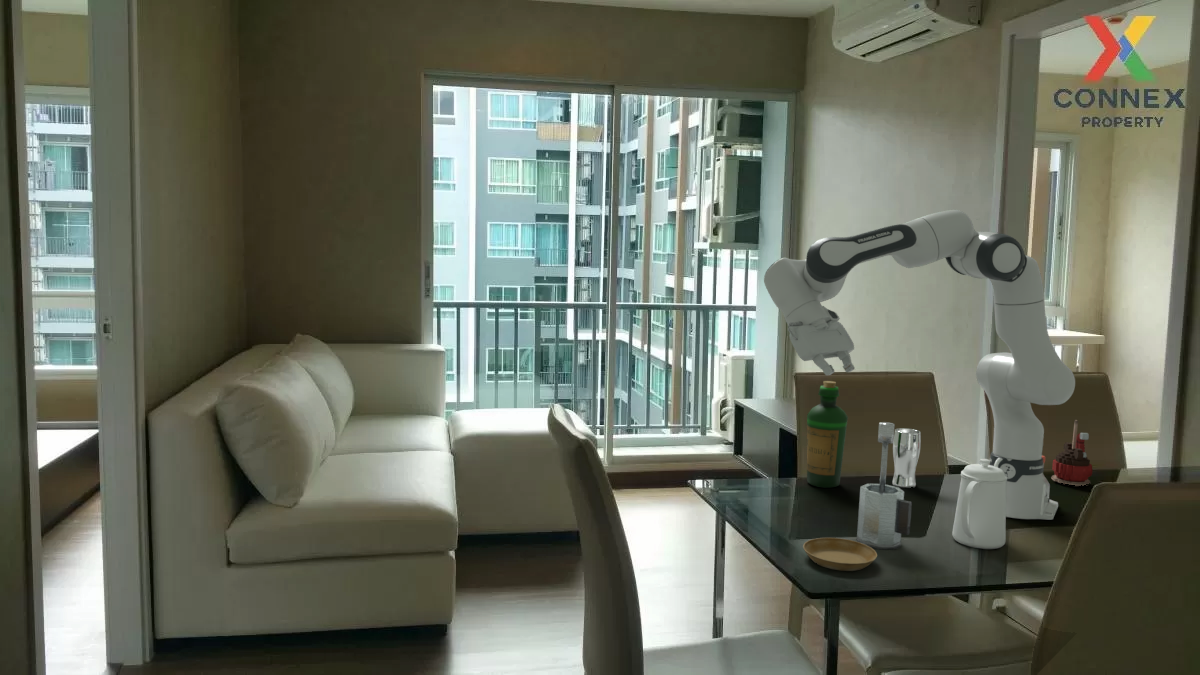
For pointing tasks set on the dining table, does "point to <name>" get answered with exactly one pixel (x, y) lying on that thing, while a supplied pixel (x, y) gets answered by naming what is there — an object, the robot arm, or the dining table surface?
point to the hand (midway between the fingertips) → (841, 372)
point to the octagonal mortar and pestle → (883, 517)
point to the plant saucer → (839, 553)
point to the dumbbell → (884, 449)
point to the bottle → (826, 439)
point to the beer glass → (905, 456)
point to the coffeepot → (981, 506)
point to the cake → (1073, 461)
